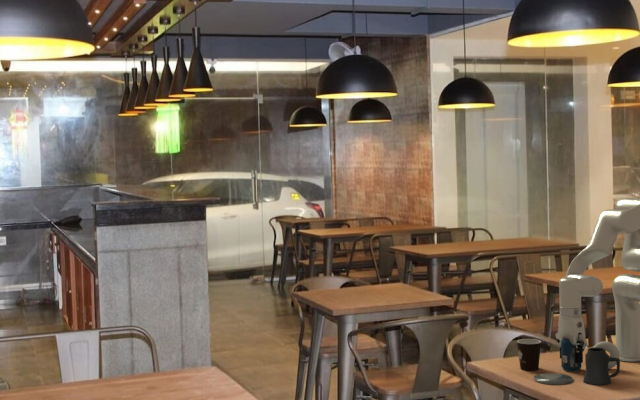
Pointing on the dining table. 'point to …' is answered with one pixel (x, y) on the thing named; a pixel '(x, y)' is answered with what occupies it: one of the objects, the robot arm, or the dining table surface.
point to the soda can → (568, 356)
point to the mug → (599, 367)
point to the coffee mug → (529, 354)
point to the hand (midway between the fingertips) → (571, 360)
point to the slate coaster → (553, 379)
